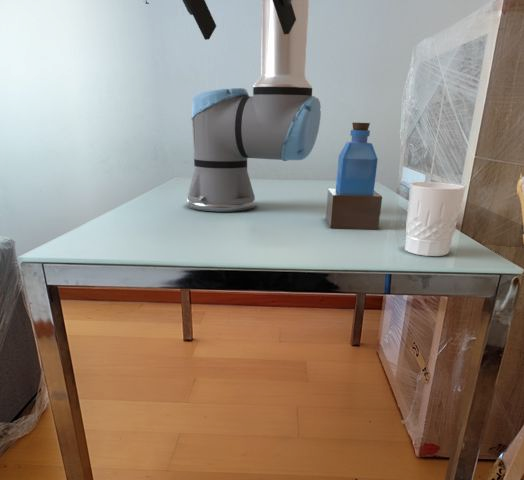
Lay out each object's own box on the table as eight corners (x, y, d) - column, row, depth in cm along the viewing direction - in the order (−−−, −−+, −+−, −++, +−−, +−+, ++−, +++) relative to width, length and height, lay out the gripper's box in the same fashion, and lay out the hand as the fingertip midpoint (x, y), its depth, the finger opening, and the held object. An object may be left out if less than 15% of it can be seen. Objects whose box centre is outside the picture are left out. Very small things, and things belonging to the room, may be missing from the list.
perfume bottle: (339, 194, 88) (346, 122, 83) (335, 189, 94) (341, 122, 88) (373, 195, 88) (381, 123, 83) (367, 190, 94) (374, 123, 88)
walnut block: (325, 219, 98) (327, 188, 95) (369, 220, 98) (373, 189, 95) (330, 228, 90) (333, 195, 87) (378, 229, 90) (382, 196, 87)
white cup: (462, 256, 73) (476, 188, 69) (415, 258, 72) (426, 189, 67) (435, 244, 80) (447, 181, 75) (392, 245, 78) (401, 181, 74)
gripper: (75, -115, 55) (171, 53, 73) (257, -170, 43) (317, 45, 61) (105, -157, 57) (191, 17, 75) (288, -221, 45) (338, 3, 63)
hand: (248, 30), depth 68 cm, fingers open, 13 cm apart
